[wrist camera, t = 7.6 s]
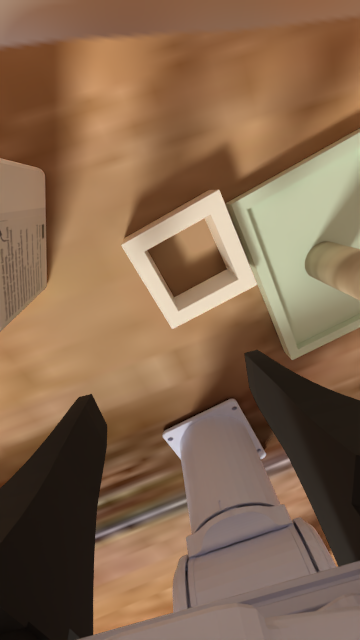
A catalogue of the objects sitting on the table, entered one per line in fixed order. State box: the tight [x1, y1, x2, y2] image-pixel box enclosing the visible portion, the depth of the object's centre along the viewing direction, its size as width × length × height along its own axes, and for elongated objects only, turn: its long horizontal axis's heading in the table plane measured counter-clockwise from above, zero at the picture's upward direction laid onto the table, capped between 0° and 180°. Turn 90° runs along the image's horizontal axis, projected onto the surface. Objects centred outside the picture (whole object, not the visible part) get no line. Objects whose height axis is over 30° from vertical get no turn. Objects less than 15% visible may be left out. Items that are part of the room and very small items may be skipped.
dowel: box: [305, 241, 360, 300], centre depth 17 cm, size 3×3×8 cm
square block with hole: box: [121, 190, 257, 329], centre depth 19 cm, size 7×7×3 cm
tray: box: [225, 128, 360, 360], centre depth 21 cm, size 14×10×1 cm
